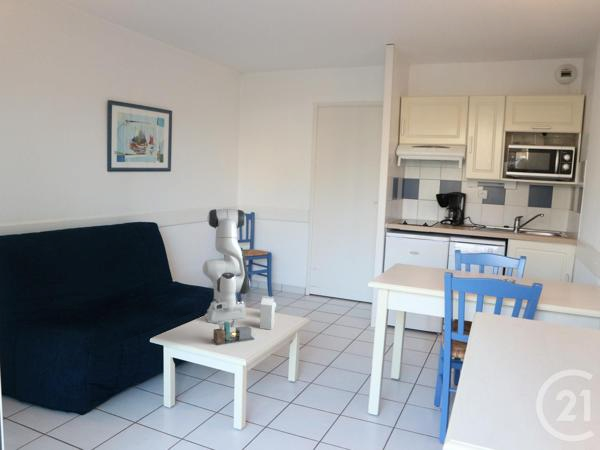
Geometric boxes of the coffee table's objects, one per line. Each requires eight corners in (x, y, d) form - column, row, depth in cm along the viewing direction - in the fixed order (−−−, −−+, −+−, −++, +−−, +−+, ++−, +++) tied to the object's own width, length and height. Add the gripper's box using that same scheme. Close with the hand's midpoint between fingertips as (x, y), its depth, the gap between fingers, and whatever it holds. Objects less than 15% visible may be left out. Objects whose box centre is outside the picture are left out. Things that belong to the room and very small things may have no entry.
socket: (221, 339, 265) (221, 328, 264) (225, 343, 260) (225, 331, 259) (213, 340, 263) (213, 329, 262) (217, 344, 257) (217, 332, 257)
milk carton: (271, 329, 285) (272, 298, 282) (259, 328, 286) (260, 297, 284) (274, 326, 291) (275, 295, 289) (262, 324, 293) (263, 294, 291)
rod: (241, 335, 269) (241, 319, 268) (243, 337, 266) (244, 321, 265) (219, 339, 263) (219, 322, 262) (221, 341, 260) (222, 324, 259)
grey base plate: (248, 335, 274) (249, 324, 273) (254, 339, 267) (254, 329, 267) (211, 340, 263) (212, 329, 262) (216, 345, 256) (217, 334, 256)
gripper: (242, 299, 269) (242, 323, 270) (207, 303, 258) (207, 328, 260) (247, 302, 263) (246, 326, 265) (211, 306, 253) (211, 331, 255)
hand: (226, 327), depth 262 cm, fingers open, 5 cm apart
